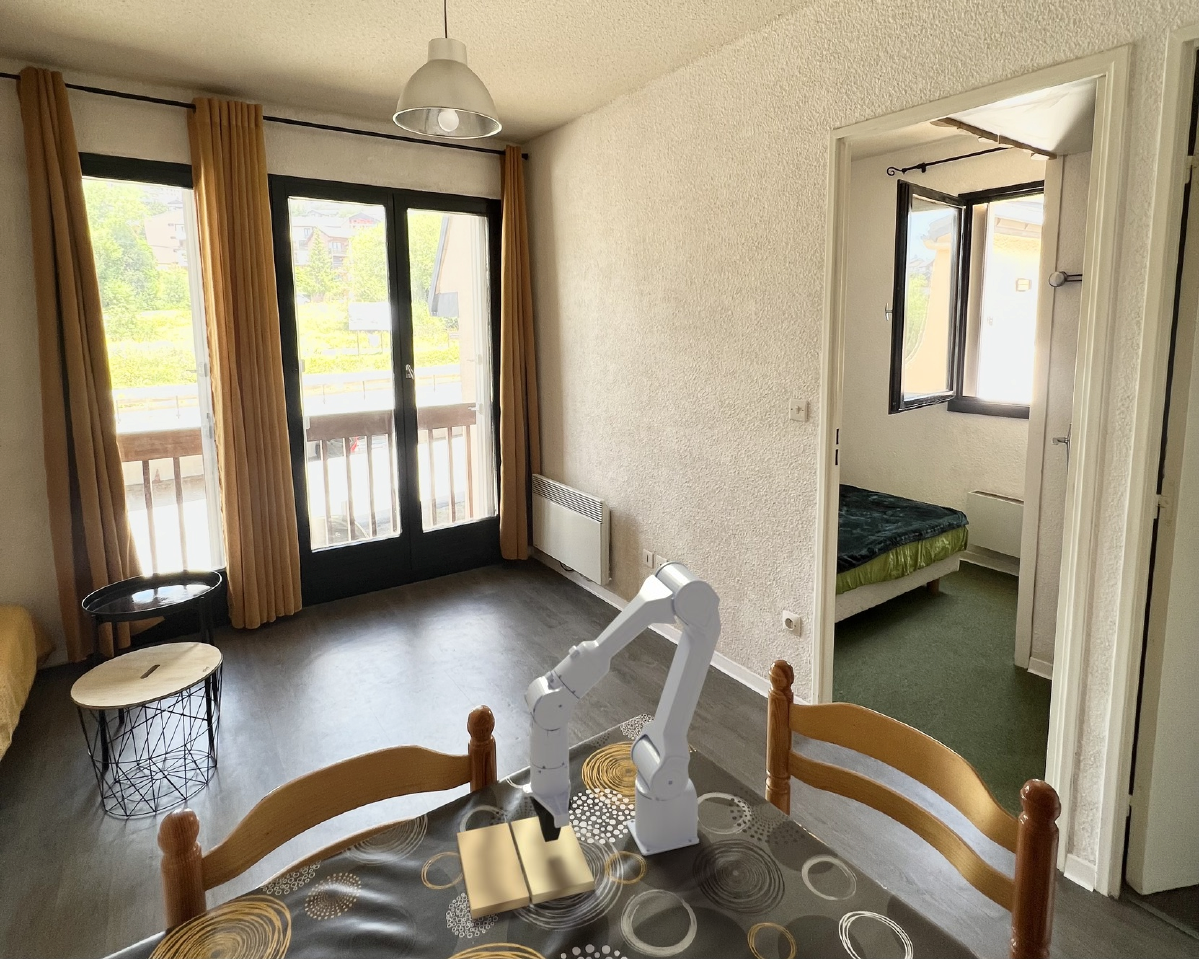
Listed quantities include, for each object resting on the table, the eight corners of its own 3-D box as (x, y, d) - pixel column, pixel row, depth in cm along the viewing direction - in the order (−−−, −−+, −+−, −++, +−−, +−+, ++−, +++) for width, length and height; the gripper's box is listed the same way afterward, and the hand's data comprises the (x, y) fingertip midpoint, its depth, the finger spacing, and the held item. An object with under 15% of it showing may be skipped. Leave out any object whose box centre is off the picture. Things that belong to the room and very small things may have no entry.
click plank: (565, 818, 122) (565, 810, 122) (594, 889, 107) (594, 880, 107) (510, 830, 120) (510, 821, 119) (533, 904, 105) (532, 895, 104)
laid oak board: (507, 830, 120) (507, 822, 119) (529, 905, 105) (529, 896, 104) (457, 841, 117) (456, 833, 117) (472, 919, 102) (471, 909, 102)
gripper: (512, 735, 115) (515, 812, 118) (533, 792, 102) (535, 877, 105) (557, 728, 117) (558, 804, 120) (583, 782, 104) (583, 866, 107)
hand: (550, 838), depth 113 cm, fingers closed
